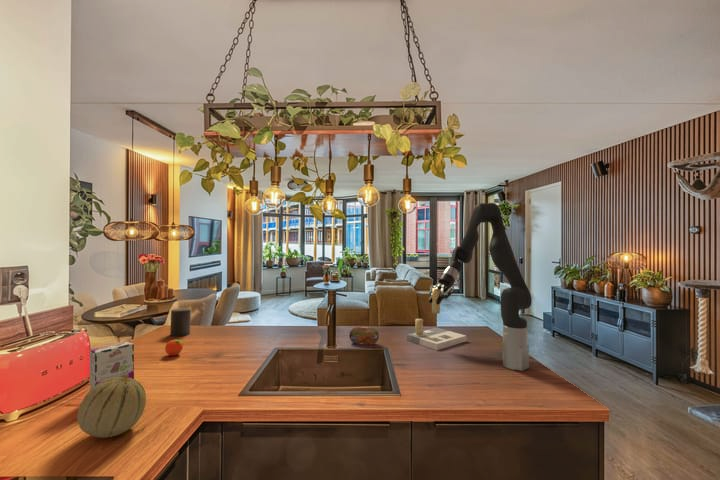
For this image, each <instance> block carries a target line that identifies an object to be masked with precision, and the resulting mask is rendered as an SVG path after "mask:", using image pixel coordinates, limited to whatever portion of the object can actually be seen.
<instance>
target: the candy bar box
mask: <svg viewBox="0 0 720 480" xmlns="http://www.w3.org/2000/svg"><path fill="white" fill-rule="evenodd" d="M134 347H135V343H133V342H130V341H124V342H120V343H114V344H110V345H107V346H103V347H98V348H94V349H90V350H89V391H90V390H91V389H92V388H93V387H94V386H96V385H97V384H98V383H100V382H102V381H104V380H106V379H109V378H114V377H124V376H125V375H126V374H128V378H132V379H135V352H134V351H135V350H134V349H135V348H134Z"/></svg>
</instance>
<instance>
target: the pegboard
mask: <svg viewBox="0 0 720 480" xmlns="http://www.w3.org/2000/svg"><path fill="white" fill-rule="evenodd" d="M414 321H415V322H414V323H415V325H414V327H415V330H414V331H415V332H412V333H407V334H406V341H409V342H412V343H415V344H418V345H421V346H424V347H426V348H430V349H432V350H435V351H440V350H442V349H446V348H449V347H452V346H455V345H458V344H462V343H465V342H467V335H465V334H462V333H457V332H454V331H450V330H447V329H443V328H439V327H432V328H428V329H424V319H423V318H415V320H414Z"/></svg>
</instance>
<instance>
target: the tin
mask: <svg viewBox="0 0 720 480" xmlns="http://www.w3.org/2000/svg"><path fill="white" fill-rule="evenodd" d="M348 336H349V339H350V341H351V342H352V343H353V344H355V343H363V344H362V345H367V344H370V345H371V346H372V345H375V344H376V343H377V342H378V341H379V337H380V335H379V332H378V330H377V329H376V328H375V327H367V326H356V327H353V328H352V329H351V330H350V331H349V335H348Z"/></svg>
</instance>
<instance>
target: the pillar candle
mask: <svg viewBox="0 0 720 480" xmlns="http://www.w3.org/2000/svg"><path fill="white" fill-rule="evenodd" d="M170 310H171V311H170V329H169V330H170V332H169V334H170V336H172V337H183V336H187V335H190V334H191V317H192V313H191V312H192V311H191V310H192V309H191V308H190V307H177V308H173V309H170Z"/></svg>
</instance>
